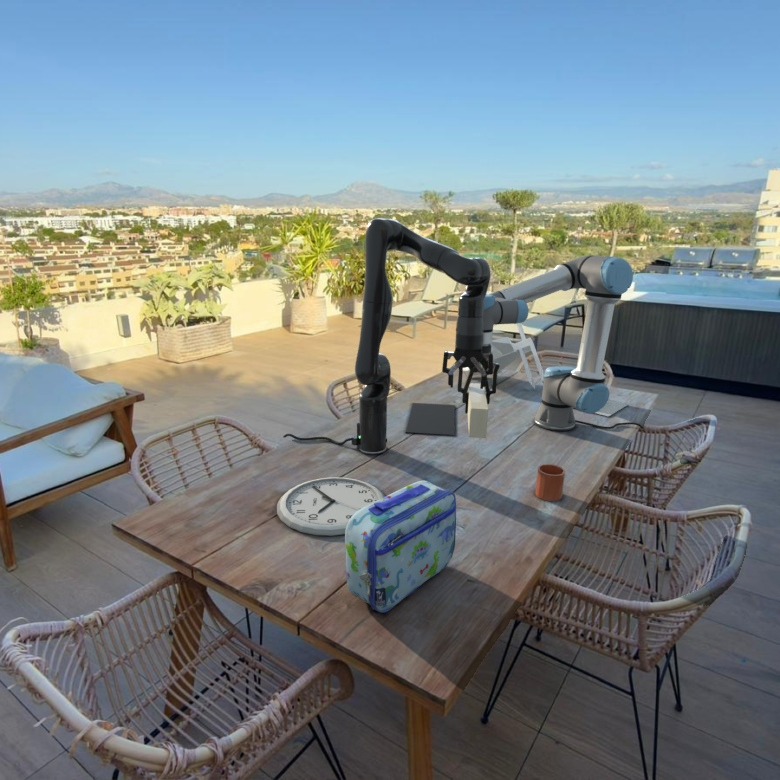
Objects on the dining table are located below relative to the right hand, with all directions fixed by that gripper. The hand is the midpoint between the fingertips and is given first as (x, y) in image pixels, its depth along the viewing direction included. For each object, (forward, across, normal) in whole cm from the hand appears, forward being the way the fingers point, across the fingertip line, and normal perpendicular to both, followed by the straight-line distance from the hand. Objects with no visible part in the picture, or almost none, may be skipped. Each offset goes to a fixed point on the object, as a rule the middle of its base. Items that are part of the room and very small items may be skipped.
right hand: (475, 412), depth 173 cm
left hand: (-15, +4, +20) cm, 25 cm away
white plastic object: (+15, -16, -87) cm, 90 cm away
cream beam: (0, 0, +8) cm, 8 cm away
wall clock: (+15, +39, +41) cm, 59 cm away
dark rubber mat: (+15, +15, -31) cm, 38 cm away
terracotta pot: (+15, -21, +26) cm, 36 cm away
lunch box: (+15, +17, +71) cm, 75 cm away
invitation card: (+15, -57, -58) cm, 83 cm away
